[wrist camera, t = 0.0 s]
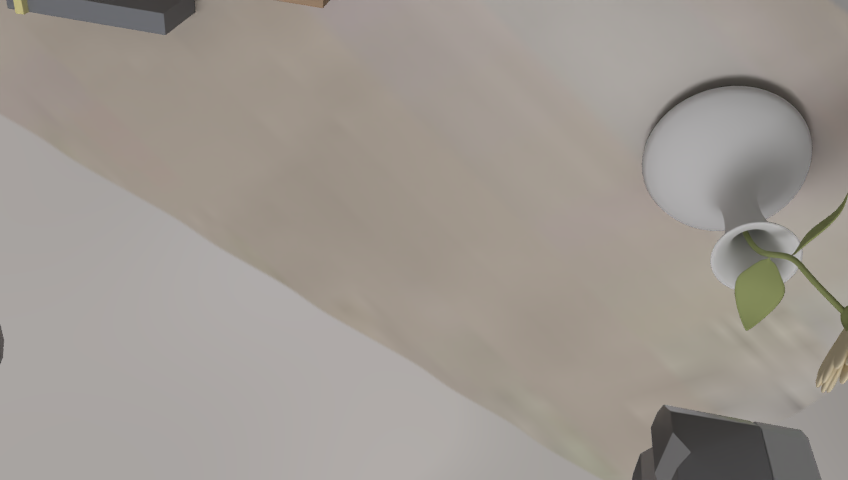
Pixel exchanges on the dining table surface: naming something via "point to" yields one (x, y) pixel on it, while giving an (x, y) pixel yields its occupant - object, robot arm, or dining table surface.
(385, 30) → the dining table surface
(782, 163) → the flower in vase
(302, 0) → the wooden block
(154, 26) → the bay
